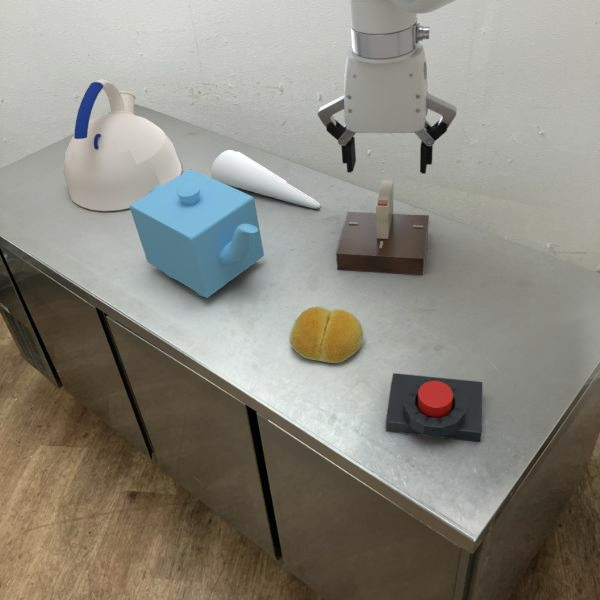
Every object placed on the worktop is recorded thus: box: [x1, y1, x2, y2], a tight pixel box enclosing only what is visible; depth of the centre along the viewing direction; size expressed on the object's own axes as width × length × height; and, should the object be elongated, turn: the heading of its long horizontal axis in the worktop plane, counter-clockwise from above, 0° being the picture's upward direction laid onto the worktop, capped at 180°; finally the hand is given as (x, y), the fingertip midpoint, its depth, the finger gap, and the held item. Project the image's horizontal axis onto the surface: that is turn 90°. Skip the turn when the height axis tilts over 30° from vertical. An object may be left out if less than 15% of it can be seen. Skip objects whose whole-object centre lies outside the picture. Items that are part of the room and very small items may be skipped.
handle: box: [375, 179, 394, 239], centre depth 91 cm, size 6×2×6 cm, turn 167°
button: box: [418, 381, 453, 418], centre depth 69 cm, size 4×4×2 cm
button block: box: [385, 373, 483, 443], centre depth 71 cm, size 10×8×4 cm
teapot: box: [129, 168, 265, 299], centre depth 89 cm, size 22×11×14 cm, turn 48°
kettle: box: [63, 78, 183, 212], centre depth 110 cm, size 20×21×18 cm
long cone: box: [210, 149, 322, 210], centre depth 106 cm, size 6×6×19 cm
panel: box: [335, 211, 430, 276], centre depth 94 cm, size 12×12×3 cm
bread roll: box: [288, 306, 364, 364], centre depth 80 cm, size 8×9×4 cm
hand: (387, 167), depth 87 cm, fingers open, 9 cm apart
